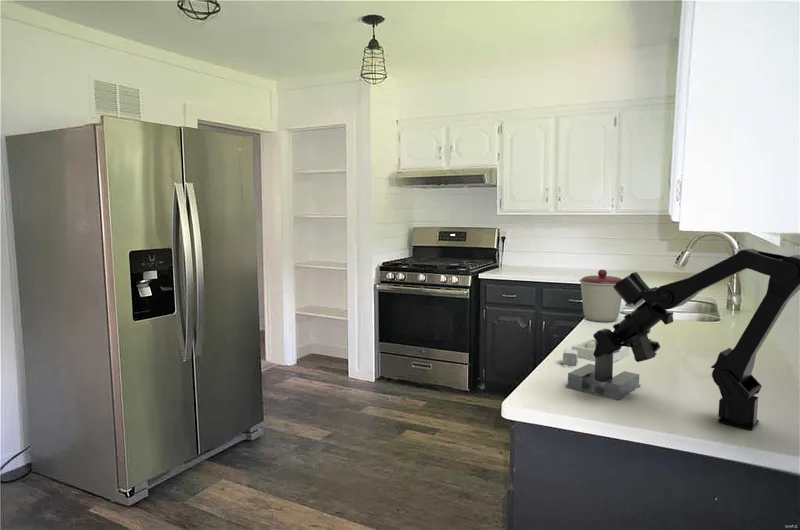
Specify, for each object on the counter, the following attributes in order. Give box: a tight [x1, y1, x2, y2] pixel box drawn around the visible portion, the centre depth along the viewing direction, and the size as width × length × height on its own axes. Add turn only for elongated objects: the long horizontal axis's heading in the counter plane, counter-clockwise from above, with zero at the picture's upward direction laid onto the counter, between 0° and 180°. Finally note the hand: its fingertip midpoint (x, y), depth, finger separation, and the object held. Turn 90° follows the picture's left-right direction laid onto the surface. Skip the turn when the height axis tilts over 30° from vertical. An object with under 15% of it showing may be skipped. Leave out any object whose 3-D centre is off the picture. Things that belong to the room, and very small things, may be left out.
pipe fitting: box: [585, 341, 596, 350], centre depth 174 cm, size 8×4×7 cm
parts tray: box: [571, 338, 630, 363], centre depth 173 cm, size 13×13×3 cm
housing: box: [565, 363, 641, 401], centre depth 144 cm, size 14×14×4 cm
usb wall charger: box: [562, 348, 579, 367], centre depth 164 cm, size 4×7×4 cm, turn 159°
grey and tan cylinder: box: [594, 341, 614, 382], centre depth 143 cm, size 4×4×13 cm
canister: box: [579, 269, 623, 323], centre depth 225 cm, size 18×18×21 cm
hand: (599, 354), depth 144 cm, fingers closed on grey and tan cylinder, 4 cm apart
